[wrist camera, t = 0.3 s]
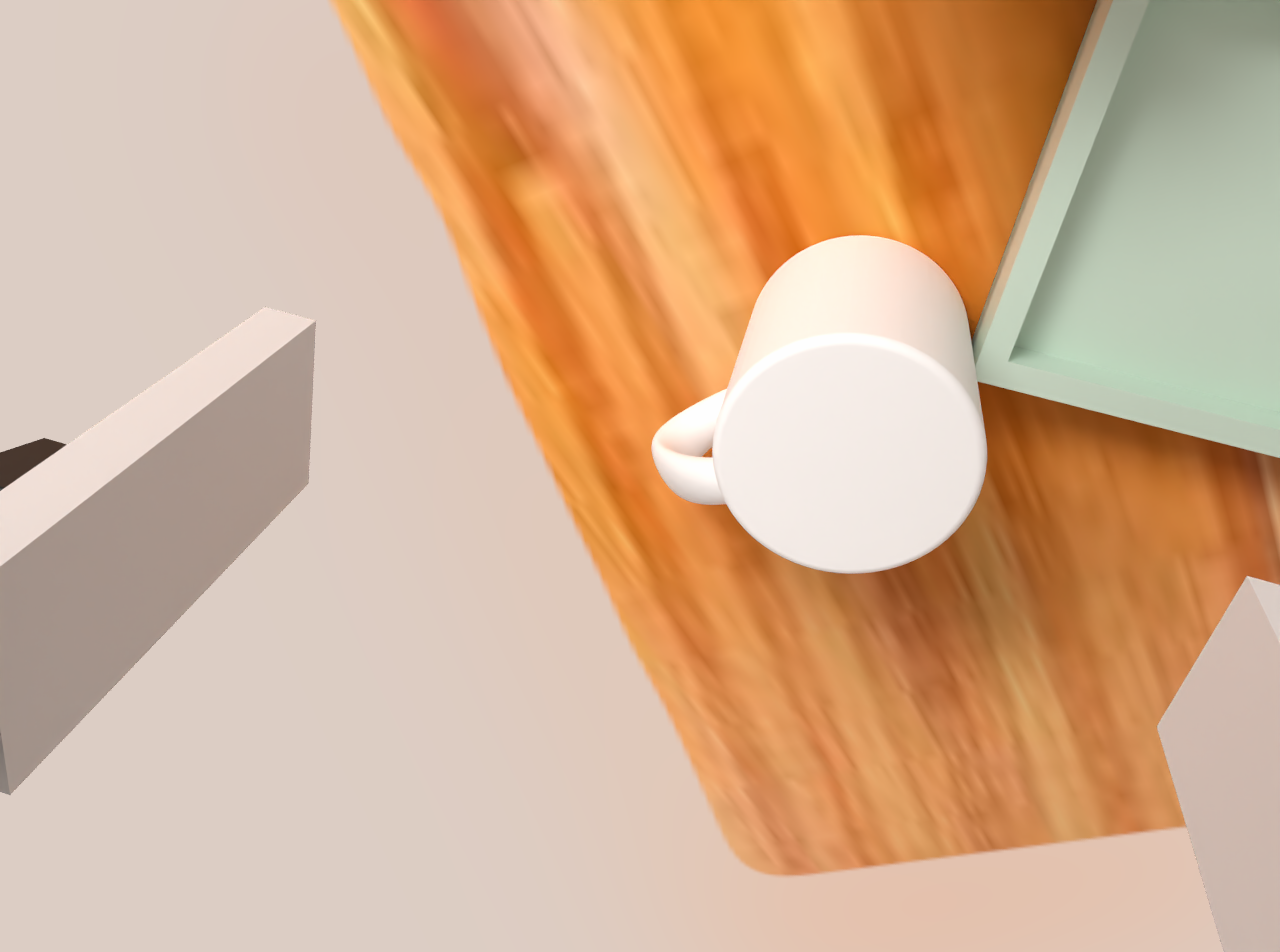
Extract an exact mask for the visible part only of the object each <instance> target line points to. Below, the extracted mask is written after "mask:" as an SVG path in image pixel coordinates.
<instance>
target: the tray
mask: <svg viewBox="0 0 1280 952" xmlns="http://www.w3.org/2000/svg"><path fill="white" fill-rule="evenodd" d="M971 343H972V349H973V356H974V362H975V369H976V376H977V381H978V382H982V383H986V384H990V385H994V386H998V387H1002V388H1005V389H1009V390H1013V391H1017V392H1021V393H1025V394H1029V395H1033V396H1037V397H1041V398H1045V399H1049V400H1053V401H1057V402H1061V403H1065V404H1069V405H1073V406H1077V407H1081V408H1084V409H1088V410H1092V411H1096V412H1100V413H1104V414H1108V415H1112V416H1116V417H1120V418H1124V419H1128V420H1132V421H1136V422H1140V423H1144V424H1148V425H1152V426H1156V427H1159V428H1163V429H1167V430H1171V431H1175V432H1179V433H1183V434H1187V435H1191V436H1195V437H1199V438H1203V439H1207V440H1211V441H1215V442H1219V443H1223V444H1227V445H1231V446H1235V447H1238V448H1242V449H1246V450H1250V451H1254V452H1258V453H1262V454H1266V455H1270V456H1274V457H1278V458H1280V0H1097V2H1096V5H1095V7H1094V10H1093V13H1092V16H1091V18H1090V21H1089V24H1088V26H1087V29H1086V32H1085V35H1084V37H1083V40H1082V43H1081V45H1080V48H1079V51H1078V53H1077V56H1076V59H1075V62H1074V64H1073V67H1072V70H1071V72H1070V75H1069V78H1068V81H1067V83H1066V86H1065V89H1064V91H1063V94H1062V97H1061V100H1060V102H1059V105H1058V108H1057V110H1056V113H1055V116H1054V119H1053V121H1052V124H1051V127H1050V129H1049V132H1048V135H1047V138H1046V140H1045V143H1044V146H1043V148H1042V151H1041V154H1040V156H1039V159H1038V162H1037V165H1036V167H1035V170H1034V173H1033V175H1032V178H1031V181H1030V184H1029V186H1028V189H1027V192H1026V194H1025V197H1024V200H1023V203H1022V205H1021V208H1020V211H1019V213H1018V216H1017V219H1016V222H1015V224H1014V227H1013V230H1012V232H1011V235H1010V238H1009V241H1008V243H1007V246H1006V249H1005V251H1004V254H1003V257H1002V260H1001V262H1000V265H999V268H998V270H997V273H996V276H995V278H994V281H993V284H992V287H991V289H990V292H989V295H988V297H987V300H986V303H985V306H984V308H983V311H982V314H981V316H980V319H979V322H978V325H977V327H976V330H975V333H974V335H973V338H972V341H971Z"/></svg>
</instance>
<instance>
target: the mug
mask: <svg viewBox="0 0 1280 952" xmlns="http://www.w3.org/2000/svg"><path fill="white" fill-rule="evenodd" d="M712 447H713V449H712V454H713V458H711V457H702V456H703V455H704V454H705V453H706V452H707V451H708V450H709V449H710V448H712ZM652 455H653V459H654V462H655V465H656V467H657V470H658V471H659V473H660V475H661V477H662V478H663V480H664V482H665V483H666V484H667V485H668V487H669V488H670V489H671V490H672V491H673V492H674V493H676V494H677V495H678V496H679V497H681V498H683V499H685V500H687V501H690V502H693V503H698V504H706V505H720V504H727V506H728V508H729V509H730V511H731V512H732V514H733V515H734V517H735V518H736V519H737V521H738V522H739V523H740V524H741V526H742V527H743V528H744V529H745V530H746V531H747V532H748V533H749V534H750V535H751V536H752V537H753V538H754V539H756V540H757V541H758V542H759V543H761V544H762V545H763V546H765V547H766V548H768V549H769V550H771V551H772V552H774V553H776V554H778V555H779V556H781V557H783V558H785V559H787V560H790V561H792V562H794V563H797V564H800V565H802V566H805V567H809V568H812V569H816V570H821V571H826V572H834V573H846V574H857V573H870V572H877V571H883V570H887V569H891V568H895V567H898V566H901V565H904V564H907V563H909V562H911V561H914V560H916V559H918V558H920V557H922V556H924V555H926V554H927V553H929V552H931V551H932V550H934V549H935V548H937V547H938V546H939V545H941V544H942V543H943V542H944V541H946V540H947V539H948V538H949V537H950V536H951V535H952V534H953V533H954V532H955V531H956V530H957V529H958V528H959V527H960V526H961V524H962V523H963V522H964V521H965V519H966V518H967V516H968V515H969V514H970V512H971V510H972V508H973V507H974V505H975V503H976V501H977V499H978V496H979V494H980V491H981V488H982V485H983V482H984V478H985V473H986V465H987V442H986V435H985V428H984V422H983V415H982V408H981V402H980V395H979V389H978V382H977V376H976V369H975V362H974V356H973V349H972V343H971V336H970V330H969V323H968V318H967V313H966V309H965V306H964V303H963V301H962V298H961V296H960V294H959V292H958V290H957V289H956V287H955V285H954V284H953V282H952V281H951V279H950V278H949V277H948V275H947V274H946V273H945V272H944V271H943V270H942V269H941V268H940V267H939V266H938V265H937V264H936V263H935V262H934V261H933V260H931V259H930V258H929V257H927V256H926V255H924V254H923V253H921V252H920V251H918V250H916V249H914V248H912V247H910V246H908V245H906V244H903V243H901V242H898V241H895V240H891V239H887V238H883V237H876V236H863V235H857V236H845V237H838V238H834V239H830V240H826V241H823V242H820V243H818V244H815V245H813V246H811V247H808V248H807V249H805V250H803V251H801V252H799V253H798V254H796V255H795V256H793V257H792V258H790V259H789V260H788V261H787V262H785V263H784V264H783V265H782V266H781V267H780V268H779V269H778V270H777V271H776V272H775V273H774V274H773V276H772V277H771V278H770V279H769V281H768V282H767V283H766V285H765V286H764V288H763V289H762V291H761V293H760V295H759V297H758V299H757V301H756V304H755V307H754V310H753V312H752V316H751V319H750V322H749V325H748V328H747V331H746V334H745V337H744V340H743V343H742V346H741V349H740V352H739V355H738V358H737V361H736V364H735V367H734V370H733V373H732V376H731V379H730V382H729V385H728V388H727V389H724V390H722V391H720V392H718V393H716V394H714V395H712V396H710V397H708V398H706V399H704V400H702V401H700V402H698V403H696V404H695V405H693V406H691V407H689V408H687V409H686V410H684V411H682V412H681V413H679V414H678V415H676V416H675V417H673V418H672V419H670V420H669V421H668V422H667V423H665V424H664V425H663V426H662V427H661V428H660V429H659V430H658V431H657V433H656V434H655V436H654V438H653V441H652Z"/></svg>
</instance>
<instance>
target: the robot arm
mask: <svg viewBox="0 0 1280 952" xmlns="http://www.w3.org/2000/svg"><path fill="white" fill-rule="evenodd" d="M315 326H316V321H315V320H311V319H308V318H304V317H300V316H297V315H293V314H289V313H286V312H282V311H278V310H275V309H271V308H267V307H264V308H263V309H261V310H260V311H259V312H257V313H256V314H254V315H253V316H251V317H250V318H249V319H247V320H246V321H244V322H243V323H242V324H240V325H238V326H237V327H236V328H234V329H233V330H231V331H230V332H228V333H227V334H226V335H224V336H223V337H221V338H220V339H218V340H217V341H216V342H214V343H213V344H211V345H210V346H208V347H207V348H205V349H204V350H202V351H201V352H200V353H198V354H197V355H195V356H194V357H192V358H191V359H190V360H188V361H187V362H185V363H184V364H182V365H181V366H179V367H178V368H177V369H175V370H174V371H172V372H171V373H169V374H168V375H166V376H165V377H164V378H162V379H161V380H159V381H158V382H156V383H155V384H154V385H152V386H151V387H149V388H148V389H146V390H145V391H143V392H142V393H141V394H139V395H138V396H136V397H135V398H134V399H132V400H131V401H129V402H128V403H126V404H125V405H123V406H122V407H120V408H119V409H118V410H116V411H115V412H113V413H112V414H111V415H109V416H108V417H106V418H105V419H103V420H102V421H100V422H99V423H98V424H96V425H95V426H93V427H92V428H90V429H89V430H87V431H86V432H85V433H83V434H82V435H80V436H79V437H77V438H76V439H74V440H73V441H72V442H70V443H69V444H68V445H66V444H63V443H59V442H56V441H53V440H49V439H45V438H43V439H40V440H37V441H34V442H31V443H28V444H25V445H22V446H19V447H16V448H13V449H10V450H7V451H4V452H1V453H0V792H2V793H6V794H9V795H10V794H11V793H12V792H13V791H14V790H15V789H16V788H17V787H18V786H19V785H20V784H21V783H22V782H23V781H24V780H25V778H27V777H28V776H29V775H30V773H31V772H32V771H33V770H34V769H35V768H36V767H37V766H38V765H39V764H40V763H41V762H42V761H43V760H44V759H45V758H46V757H47V756H48V755H49V754H50V753H51V752H52V751H53V749H54V748H55V747H56V746H57V745H58V744H59V743H60V742H61V741H62V740H63V739H64V738H65V737H66V736H67V735H68V734H69V733H70V732H71V731H72V730H73V729H74V728H75V726H76V725H77V724H78V723H79V722H80V721H81V720H82V719H83V718H84V717H85V716H86V715H87V714H88V713H89V712H90V711H91V710H92V709H93V708H94V707H95V706H96V705H97V704H98V702H99V701H100V700H101V699H102V698H103V697H104V696H105V695H106V694H107V693H108V692H109V691H110V690H111V689H112V688H113V687H114V686H115V685H116V684H117V683H118V681H120V680H121V678H122V677H123V676H124V675H125V674H126V673H127V672H128V671H129V670H130V669H131V668H132V667H133V666H134V665H135V663H137V662H138V661H139V660H140V659H141V658H142V656H143V655H144V654H145V653H146V652H147V651H148V650H149V649H150V648H151V647H152V646H153V645H154V644H155V643H156V642H157V641H158V640H159V639H160V638H161V637H162V636H163V635H164V634H165V633H166V631H167V630H168V629H169V628H170V627H171V626H172V625H173V624H174V623H175V622H176V621H177V620H178V619H179V618H180V617H181V616H182V615H183V614H184V613H185V612H186V611H187V609H189V607H190V606H191V605H192V604H193V603H194V602H195V601H196V600H197V599H198V598H199V597H200V596H201V595H202V594H203V593H204V592H205V591H206V590H207V589H208V588H209V587H210V586H211V584H212V583H213V582H214V581H215V580H216V579H217V578H218V577H219V576H220V575H221V574H222V573H223V572H224V571H225V570H226V569H227V568H228V567H229V566H230V565H231V564H232V563H233V562H234V560H235V559H236V558H237V557H238V556H239V555H240V554H241V553H242V552H243V551H244V550H245V549H246V548H247V547H248V546H249V545H250V544H251V543H252V542H253V541H254V540H255V538H256V537H257V536H258V535H259V534H260V533H261V532H262V531H263V530H264V529H265V528H266V527H267V526H268V525H269V524H270V523H271V522H272V521H273V520H274V519H275V518H276V516H277V515H278V514H280V512H281V511H282V510H283V509H284V508H285V507H286V506H287V505H288V504H289V503H290V502H291V501H292V500H293V499H294V498H295V497H296V496H297V495H298V494H299V493H300V492H301V490H303V488H304V487H305V486H306V485H307V484H308V480H309V459H310V437H311V415H312V393H313V368H314V348H315ZM1157 729H1158V732H1159V736H1160V739H1161V743H1162V746H1163V749H1164V753H1165V756H1166V759H1167V763H1168V766H1169V769H1170V773H1171V776H1172V779H1173V783H1174V786H1175V790H1176V793H1177V796H1178V800H1179V803H1180V806H1181V810H1182V813H1183V816H1184V820H1185V823H1186V827H1187V830H1188V833H1189V836H1190V840H1191V843H1192V847H1193V850H1194V853H1195V856H1196V860H1197V863H1198V867H1199V870H1200V874H1201V877H1202V880H1203V884H1204V887H1205V890H1206V893H1207V897H1208V900H1209V904H1210V907H1211V910H1212V914H1213V917H1214V920H1215V924H1216V927H1217V931H1218V934H1219V937H1220V941H1221V944H1222V947H1223V951H1224V952H1280V585H1278V584H1275V583H1271V582H1267V581H1264V580H1260V579H1256V578H1253V577H1249V576H1247V577H1246V578H1245V580H1244V582H1243V583H1242V585H1241V587H1240V588H1239V590H1238V592H1237V593H1236V595H1235V597H1234V598H1233V600H1232V602H1231V603H1230V605H1229V607H1228V608H1227V610H1226V612H1225V613H1224V615H1223V617H1222V618H1221V620H1220V622H1219V623H1218V625H1217V627H1216V628H1215V630H1214V632H1213V633H1212V635H1211V637H1210V638H1209V640H1208V642H1207V643H1206V645H1205V647H1204V648H1203V650H1202V652H1201V653H1200V655H1199V657H1198V658H1197V660H1196V662H1195V663H1194V665H1193V667H1192V669H1191V670H1190V672H1189V674H1188V675H1187V677H1186V679H1185V680H1184V682H1183V684H1182V685H1181V687H1180V689H1179V690H1178V692H1177V694H1176V695H1175V697H1174V699H1173V700H1172V702H1171V704H1170V705H1169V707H1168V709H1167V710H1166V712H1165V714H1164V715H1163V717H1162V719H1161V720H1160V722H1159V724H1158V725H1157Z"/></svg>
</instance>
